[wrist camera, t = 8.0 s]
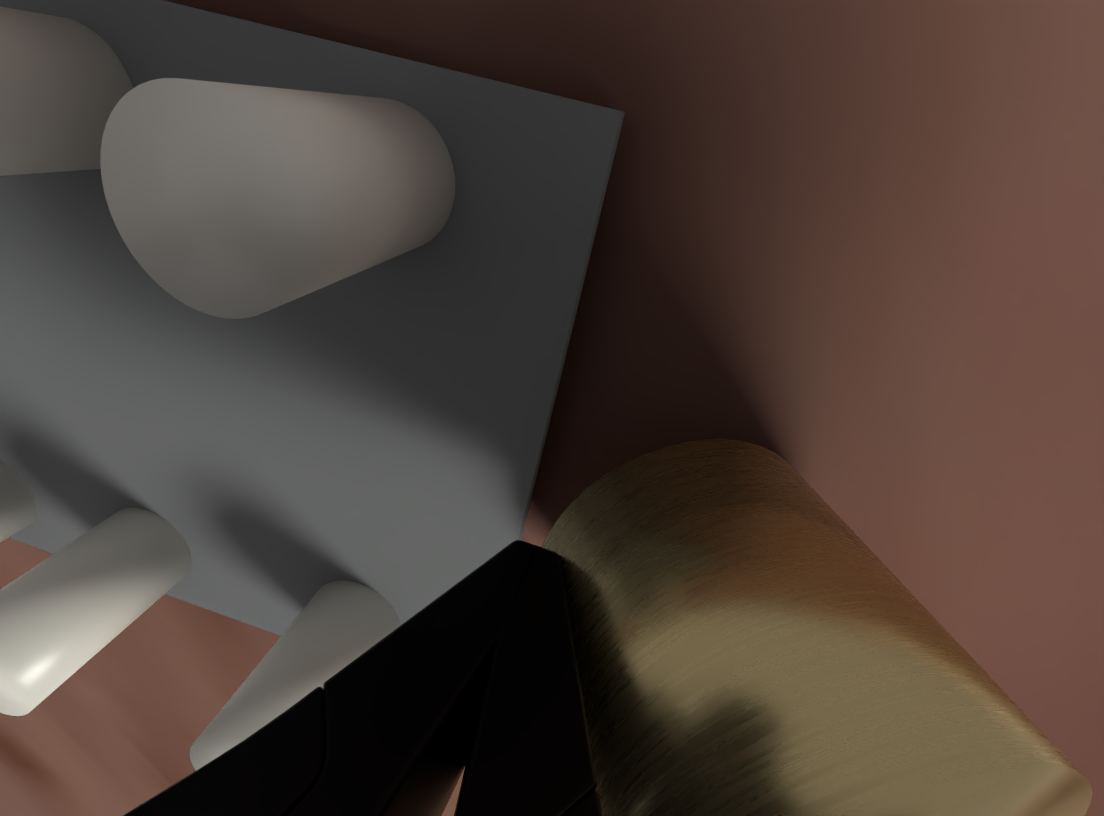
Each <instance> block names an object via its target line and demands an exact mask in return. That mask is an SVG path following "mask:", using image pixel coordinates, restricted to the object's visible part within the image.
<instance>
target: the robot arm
mask: <svg viewBox="0 0 1104 816" xmlns="http://www.w3.org/2000/svg"><path fill="white" fill-rule="evenodd" d="M465 765H466V766H465ZM464 767H465V770H464V774H463V779H462V783H461V787H460V792H459V796H458V800H457V805H456V809H455V813H454V816H603V814H602V808H601V802H600V796H599V793H598V791H596V788H597V780H596V773H595V767H594V761H593V755H592V749H591V743H590V737H589V731H588V725H587V719H586V713H585V707H584V701H583V695H582V689H581V683H580V677H579V671H578V665H577V659H576V653H575V647H574V641H573V635H572V628H571V622H570V616H569V610H568V604H567V598H566V592H565V586H564V580H563V574H562V568H561V562H560V557H559V555H558V554H557V553H556V552H554V551H551V550H548V549H545V548H542V547H539V546H536V545H533V544H530V543H527V542H524V541H521V540H515V541H513V542H512V543H510V544H509V545H508V546H506V547H505V548H504V549H502V550H501V551H500V552H498V553H497V554H496V555H494V556H493V557H492V558H490V559H489V560H488V561H486V562H485V563H484V564H482V565H481V566H480V567H478V568H477V569H475V570H474V571H473V572H471V573H470V574H469V575H467V576H466V577H465V578H463V579H462V580H461V581H459V582H458V583H457V584H455V585H454V586H453V587H451V588H450V589H449V590H447V591H446V592H445V593H443V594H442V595H441V596H439V597H438V598H437V599H435V600H434V601H433V602H431V603H430V604H429V605H427V606H426V607H425V608H423V609H422V610H421V611H419V612H418V613H417V614H415V615H414V616H413V617H411V618H410V619H409V620H407V621H406V622H404V623H403V624H402V625H400V626H399V627H398V628H396V629H395V630H394V631H392V632H391V633H390V634H388V635H387V636H386V637H384V638H383V639H382V640H380V641H379V642H378V643H376V644H375V645H374V646H372V647H371V648H370V649H368V650H367V651H366V652H364V653H363V654H362V655H360V656H359V657H358V658H356V659H355V660H354V661H352V662H351V663H350V664H348V665H347V666H346V667H344V668H343V669H342V670H340V671H339V672H337V673H336V674H335V675H333V676H332V677H331V678H329V679H328V680H327V681H325V683H324V685H323V688H322V687H317V688H315V689H314V690H313V691H311V692H310V693H309V694H308V695H306V696H305V697H304V698H302V699H301V700H300V701H298V702H297V703H296V704H294V705H293V706H292V707H290V708H289V709H287V710H286V711H285V712H283V713H282V714H280V715H279V716H278V717H276V718H275V719H273V720H272V721H270V722H269V723H268V724H266V725H265V726H263V727H262V728H261V729H259V730H258V731H256V732H255V733H253V734H252V735H251V736H249V737H248V738H246V739H245V740H244V741H242V742H240V743H239V744H237V745H236V746H234V747H233V748H231V749H229V750H228V751H226V752H225V753H223V754H222V755H220V756H218V757H217V758H215V759H214V760H212V761H211V762H209V763H207V764H206V765H204V766H203V767H201V768H200V769H198V770H196V771H195V772H193V773H192V774H190V775H189V776H187V777H185V778H184V779H182V780H180V781H179V782H177V783H175V784H174V785H172V786H171V787H169V788H167V789H166V790H164V791H162V792H161V793H159V794H157V795H156V796H154V797H152V798H151V799H149V800H148V801H146V802H144V803H143V804H141V805H139V806H138V807H136V808H134V809H133V810H131V811H129V812H128V813H126V814H125V815H123V816H441V815H442V813H443V811H444V809H445V807H446V805H447V803H448V801H449V799H450V797H451V795H452V792H453V790H454V788H455V786H456V784H457V782H458V780H459V778H460V776H461V774H462V772H463V769H464Z"/></svg>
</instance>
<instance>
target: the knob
mask: <svg viewBox="0 0 1104 816" xmlns="http://www.w3.org/2000/svg"><path fill="white" fill-rule="evenodd" d="M542 548H545V549H548V550H551V551H554V552H556V553H557V554H558V555H559V557H560V562H561V568H562V574H563V580H564V586H565V592H566V598H567V604H568V610H569V616H570V622H571V628H572V635H573V641H574V647H575V653H576V659H577V665H578V671H579V677H580V683H581V689H582V695H583V701H584V707H585V713H586V719H587V725H588V731H589V737H590V743H591V749H592V755H593V761H594V767H595V773H596V780H597V788H596V791H598V793H599V796H600V802H601V808H602V814H603V816H1084V815H1085V814H1086V812H1087V810H1088V807H1089V805H1090V803H1091V799H1092V788H1091V785H1090V782H1089V781H1088V780H1087V779H1086V778H1085V777H1084V776H1083V775H1082V774H1081V773H1080V771H1079V770H1078V769H1077V768H1076V767H1075V766H1074V765H1073V764H1072V763H1071V762H1070V761H1069V760H1068V759H1067V758H1066V757H1065V756H1064V754H1063V753H1062V752H1061V751H1060V750H1059V749H1058V748H1057V747H1056V746H1055V745H1054V744H1053V743H1052V742H1051V741H1050V740H1049V739H1048V738H1047V736H1046V735H1045V734H1044V733H1043V732H1042V731H1041V730H1040V729H1039V728H1038V727H1037V726H1036V725H1035V724H1034V723H1033V722H1032V721H1031V719H1030V718H1029V717H1028V716H1027V715H1026V714H1025V713H1024V712H1023V711H1022V710H1021V709H1020V708H1019V707H1018V706H1017V705H1016V704H1015V702H1014V701H1013V700H1012V699H1011V698H1010V697H1009V696H1008V695H1007V694H1006V693H1005V692H1004V691H1003V690H1002V689H1001V688H1000V687H999V686H998V684H997V683H996V682H995V681H994V680H993V679H992V678H991V677H990V676H989V675H988V674H987V673H986V672H985V671H984V670H983V669H982V667H981V666H980V665H979V664H978V663H977V662H976V661H975V660H974V659H973V658H972V657H971V656H970V655H969V654H968V653H967V652H966V651H965V649H964V648H963V647H962V646H961V645H960V644H959V643H958V642H957V641H956V640H955V639H954V638H953V637H952V636H951V635H950V634H949V632H948V631H947V630H946V629H945V628H944V627H943V626H942V625H941V624H940V623H939V622H938V621H937V620H936V619H935V618H934V617H933V616H932V614H931V613H930V612H929V611H928V610H927V609H926V608H925V607H924V606H923V605H922V604H921V603H920V602H919V601H918V600H917V599H916V597H915V596H914V595H913V594H912V593H911V592H910V591H909V590H908V589H907V588H906V587H905V586H904V585H903V584H902V583H901V582H900V581H899V579H898V578H897V577H896V576H895V575H894V574H893V573H892V572H891V571H890V570H889V569H888V568H887V567H886V566H885V565H884V564H883V562H882V561H881V560H880V559H879V558H878V557H877V556H876V555H875V554H874V553H873V552H872V551H871V550H870V549H869V548H868V547H867V546H866V544H865V543H864V542H863V541H862V540H861V539H860V538H859V537H858V536H857V535H856V534H855V533H854V532H853V531H852V530H851V529H850V527H849V526H848V525H847V524H846V523H845V522H844V521H843V520H842V519H841V518H840V517H839V516H838V515H837V514H836V513H835V512H834V511H833V509H832V508H831V507H830V506H829V505H828V504H827V503H826V502H825V501H824V500H823V499H822V498H821V497H820V496H819V495H818V494H817V492H816V491H815V490H814V489H813V488H812V487H811V486H810V485H809V484H808V483H807V482H806V481H805V480H804V479H803V478H802V477H801V476H800V474H799V473H798V472H797V471H796V470H795V469H794V468H793V467H792V466H791V465H790V464H789V463H788V462H787V461H786V460H785V459H783V458H782V457H780V456H779V455H777V454H776V453H774V452H773V451H771V450H768V449H766V448H764V447H762V446H759V445H756V444H752V443H748V442H744V441H738V440H729V439H703V440H696V441H688V442H683V443H678V444H674V445H670V446H666V447H663V448H660V449H657V450H654V451H651V452H648V453H646V454H643V455H641V456H639V457H637V458H635V459H632V460H630V461H628V462H626V463H624V464H622V465H621V466H619V467H617V468H616V469H614V470H612V471H611V472H609V473H607V474H606V475H604V476H603V477H601V478H600V479H599V480H597V481H596V482H595V483H593V484H592V485H591V486H589V487H588V488H587V489H586V490H585V491H584V492H582V493H581V494H580V495H579V496H578V497H577V498H576V499H575V500H574V501H573V502H572V503H571V504H570V505H569V506H568V507H567V509H566V510H565V511H564V512H563V513H562V514H561V515H560V517H559V518H558V520H557V521H556V523H555V524H554V525H553V527H552V528H551V530H550V531H549V533H548V535H547V537H546V539H545V541H544V543H543V545H542Z"/></svg>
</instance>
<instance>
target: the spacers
mask: <svg viewBox="0 0 1104 816" xmlns="http://www.w3.org/2000/svg"><path fill="white" fill-rule="evenodd" d="M93 169H101V177H102V184H103V189H104V194H105V198H106V201H107V204H108V207H109V211H110V213H111V216H112V218H113V221H114V223H115V225H116V228H117V229H118V231H119V233H120V235H121V237H122V239H123V241H124V243H125V244H126V246H127V247H128V249H129V251H130V252H131V254H132V255H133V256H134V258H135V259H136V260H137V262H138V263H139V264H140V266H141V267H142V268H143V269H144V270H145V271H146V273H147V274H148V275H149V276H150V277H151V278H152V279H153V280H154V281H155V282H156V283H157V284H158V285H159V286H160V287H161V288H163V289H164V290H165V291H167V292H168V293H169V294H170V295H172V296H173V297H174V298H176V299H177V300H179V301H181V302H182V303H184V304H185V305H187V306H189V307H191V308H193V309H195V310H197V311H200V312H203V313H205V314H208V315H212V316H216V317H220V318H229V319H242V318H249V317H253V316H257V315H260V314H262V313H264V312H267V311H269V310H272V309H274V308H276V307H279V306H281V305H283V304H286V303H288V302H290V301H293V300H295V299H297V298H300V297H302V296H305V295H307V294H309V293H312V292H314V291H316V290H319V289H321V288H323V287H326V286H328V285H330V284H333V283H335V282H337V281H340V280H342V279H344V278H347V277H349V276H352V275H354V274H356V273H359V272H361V271H363V270H366V269H368V268H370V267H373V266H375V265H377V264H380V263H382V262H384V261H387V260H389V259H391V258H394V257H396V256H399V255H401V254H403V253H406V252H408V251H410V250H413V249H415V248H417V247H420V246H422V245H424V244H426V243H427V242H429V241H430V240H432V239H433V238H434V237H435V236H436V235H437V234H438V233H439V232H440V231H441V230H442V228H443V227H444V225H445V224H446V222H447V220H448V218H449V216H450V213H451V210H452V207H453V203H454V198H455V173H454V168H453V163H452V160H451V156H450V154H449V151H448V149H447V146H446V144H445V142H444V141H443V139H442V137H441V135H440V134H439V132H438V131H437V130H436V128H435V127H434V126H433V125H432V124H431V122H430V121H429V120H428V119H427V118H426V117H424V116H423V115H422V114H421V113H420V112H418V111H417V110H415V109H414V108H412V107H411V106H409V105H407V104H405V103H402V102H399V101H396V100H392V99H386V98H377V97H367V96H356V95H346V94H336V93H325V92H315V91H305V90H294V89H284V88H274V87H263V86H253V85H243V84H232V83H222V82H212V81H201V80H191V79H181V78H161V79H156V80H150V81H148V82H145V83H143V84H140V85H138V86H136V87H135V88H133V85H132V82H131V80H130V78H129V76H128V74H127V72H126V70H125V68H124V66H123V65H122V63H121V61H120V60H119V58H118V57H117V55H116V54H115V53H114V51H113V50H112V49H111V48H110V46H109V45H108V44H107V43H106V42H105V41H104V40H103V39H102V38H101V37H100V36H99V35H98V34H96V33H95V32H94V31H93V30H91V29H90V28H88V27H87V26H85V25H83V24H81V23H79V22H77V21H75V20H72V19H69V18H64V17H58V16H53V15H47V14H41V13H35V12H30V11H24V10H18V9H13V8H7V7H1V6H0V176H5V175H20V174H34V173H49V172H64V171H79V170H93ZM36 517H37V505H36V502H35V499H34V497H33V495H32V493H31V491H30V489H29V488H28V486H27V485H26V484H25V482H24V481H23V480H22V479H21V478H20V477H19V476H18V475H17V474H16V473H15V472H14V471H13V470H12V469H11V468H9V467H8V466H7V465H5V464H4V463H3V462H1V461H0V542H2V541H3V540H5V539H7V538H9V537H10V536H12V535H14V534H15V533H17V532H19V531H20V530H22V529H24V528H25V527H27V526H29V525H30V524H32V523H33V522H34V521H35V519H36ZM191 566H192V557H191V553H190V550H189V548H188V545H187V543H186V542H185V540H184V539H183V537H182V536H181V535H180V533H179V532H178V531H177V530H176V529H175V528H174V527H173V526H172V525H171V524H170V523H169V522H167V521H166V520H165V519H163V518H162V517H160V516H158V515H157V514H155V513H153V512H151V511H148V510H145V509H142V508H136V507H129V508H124V509H121V510H120V511H118V512H116V513H115V514H113V515H112V516H110V517H109V518H107V519H106V520H104V521H103V522H101V523H100V524H98V525H97V526H95V527H94V528H92V529H91V530H89V531H88V532H86V533H85V534H83V535H82V536H80V537H79V538H77V539H76V540H74V541H73V542H71V543H70V544H68V545H67V546H65V547H64V548H62V549H61V550H59V551H58V552H56V553H54V554H53V555H51V556H50V557H48V558H47V559H45V560H44V561H42V562H41V563H39V564H38V565H36V566H35V567H33V568H32V569H30V570H29V571H27V572H26V573H24V574H23V575H21V576H20V577H18V578H17V579H15V580H14V581H12V582H11V583H9V584H8V585H6V586H5V587H3V588H2V589H0V713H3V714H7V715H12V716H22V715H26V714H28V713H29V712H30V711H31V710H33V709H34V708H35V707H36V706H37V705H38V704H39V703H41V702H42V701H43V700H44V699H45V698H46V697H47V696H49V695H50V694H51V693H52V692H53V691H54V690H55V689H57V688H58V687H59V686H60V685H61V684H62V683H63V682H65V681H66V680H67V679H68V678H69V677H70V676H71V675H73V674H74V673H75V672H76V671H77V670H78V669H80V668H81V667H82V666H83V665H84V664H85V663H86V662H88V661H89V660H90V659H91V658H92V657H93V656H94V655H96V654H97V653H98V652H99V651H100V650H101V649H102V648H104V647H105V646H106V645H107V644H108V643H109V642H110V641H112V640H113V639H114V638H115V637H116V636H117V635H118V634H120V633H121V632H122V631H123V630H124V629H125V628H126V627H128V626H129V625H130V624H131V623H132V622H133V621H134V620H136V619H137V618H138V617H139V616H140V615H141V614H142V613H144V612H145V611H146V610H147V609H148V608H149V607H150V606H152V605H153V604H154V603H155V602H156V601H157V600H158V599H160V598H161V597H162V596H163V595H164V594H165V593H166V592H168V591H169V590H170V589H171V588H172V587H173V586H174V585H176V584H177V583H178V582H179V581H180V580H181V579H182V578H184V577H185V576H186V575H187V574H188V573H189V571H190V569H191ZM399 626H400V621H399V618H398V616H397V613H396V612H395V610H394V608H393V607H392V606H391V604H390V603H389V602H388V601H387V600H386V599H385V598H384V597H383V596H381V595H380V594H379V593H377V592H376V591H374V590H373V589H371V588H369V587H367V586H365V585H362V584H360V583H357V582H353V581H346V580H337V581H332V582H329V583H327V584H325V585H323V586H322V587H321V588H320V589H319V590H318V592H317V593H316V594H315V595H314V597H313V598H312V599H311V600H310V601H309V603H308V604H307V605H306V606H305V608H304V609H303V610H302V611H301V612H300V614H299V615H298V616H297V617H296V619H295V620H294V621H293V622H292V623H291V625H290V626H289V627H288V628H287V629H286V631H285V632H284V633H283V634H282V636H281V637H280V638H279V639H278V640H277V642H276V643H275V644H274V645H273V647H272V648H271V649H270V650H269V651H268V653H267V654H266V655H265V656H264V658H263V659H262V660H261V661H260V662H259V664H258V665H257V666H256V667H255V669H254V670H253V671H252V672H251V673H250V675H249V676H248V677H247V678H246V680H245V681H244V682H243V683H242V684H241V686H240V687H239V688H238V689H237V690H236V692H235V693H234V694H233V695H232V697H231V698H230V699H229V700H228V701H227V703H226V704H225V705H224V706H223V708H222V709H221V710H220V711H219V712H218V714H217V715H216V716H215V717H214V719H213V720H212V721H211V722H210V723H209V725H208V726H207V727H206V728H205V730H204V731H203V732H202V733H201V734H200V736H199V737H198V738H197V739H196V741H195V742H194V743H193V744H192V746H191V748H190V759H191V762H192V765H193V767H194V769H195V771H196V770H198V769H200V768H201V767H203V766H204V765H206V764H207V763H209V762H211V761H212V760H214V759H215V758H217V757H218V756H220V755H222V754H223V753H225V752H226V751H228V750H229V749H231V748H233V747H234V746H236V745H237V744H239V743H240V742H242V741H244V740H245V739H246V738H248V737H249V736H251V735H252V734H253V733H255V732H256V731H258V730H259V729H261V728H262V727H263V726H265V725H266V724H268V723H269V722H270V721H272V720H273V719H275V718H276V717H278V716H279V715H280V714H282V713H283V712H285V711H286V710H287V709H289V708H290V707H292V706H293V705H294V704H296V703H297V702H298V701H300V700H301V699H302V698H304V697H305V696H306V695H308V694H309V693H310V692H311V691H313V690H314V689H315V688H317V687H322V688H323V685H324V683H325V681H327V680H328V679H329V678H331V677H332V676H333V675H335V674H336V673H337V672H339V671H340V670H342V669H343V668H344V667H346V666H347V665H348V664H350V663H351V662H352V661H354V660H355V659H356V658H358V657H359V656H360V655H362V654H363V653H364V652H366V651H367V650H368V649H370V648H371V647H372V646H374V645H375V644H376V643H378V642H379V641H380V640H382V639H383V638H384V637H386V636H387V635H388V634H390V633H391V632H392V631H394V630H395V629H396V628H398V627H399Z"/></svg>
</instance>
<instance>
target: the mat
mask: <svg viewBox="0 0 1104 816" xmlns="http://www.w3.org/2000/svg"><path fill="white" fill-rule="evenodd" d="M0 6H1V7H7V8H13V9H18V10H24V11H30V12H35V13H41V14H47V15H53V16H58V17H64V18H69V19H72V20H75V21H77V22H79V23H81V24H83V25H85V26H87V27H88V28H90V29H91V30H93V31H94V32H95V33H96V34H98V35H99V36H100V37H101V38H102V39H103V40H104V41H105V42H106V43H107V44H108V45H109V46H110V48H111V49H112V50H113V51H114V53H115V54H116V55H117V57H118V58H119V60H120V61H121V63H122V65H123V66H124V68H125V70H126V72H127V74H128V76H129V78H130V80H131V82H132V85H133V88H135V87H136V86H138V85H140V84H143V83H145V82H148V81H150V80H156V79H161V78H181V79H191V80H201V81H212V82H222V83H232V84H243V85H253V86H263V87H274V88H284V89H294V90H305V91H315V92H325V93H336V94H346V95H356V96H367V97H377V98H386V99H392V100H396V101H399V102H402V103H405V104H407V105H409V106H411V107H412V108H414V109H415V110H417V111H418V112H420V113H421V114H422V115H423V116H424V117H426V118H427V119H428V120H429V121H430V122H431V124H432V125H433V126H434V127H435V128H436V130H437V131H438V132H439V134H440V135H441V137H442V139H443V141H444V142H445V144H446V146H447V149H448V151H449V154H450V156H451V160H452V163H453V168H454V173H455V198H454V203H453V207H452V210H451V213H450V216H449V218H448V220H447V222H446V224H445V225H444V227H443V228H442V230H441V231H440V232H439V233H438V234H437V235H436V236H435V237H434V238H433V239H432V240H430V241H429V242H427V243H426V244H424V245H422V246H420V247H417V248H415V249H413V250H410V251H408V252H406V253H403V254H401V255H399V256H396V257H394V258H391V259H389V260H387V261H384V262H382V263H380V264H377V265H375V266H373V267H370V268H368V269H366V270H363V271H361V272H359V273H356V274H354V275H352V276H349V277H347V278H344V279H342V280H340V281H337V282H335V283H333V284H330V285H328V286H326V287H323V288H321V289H319V290H316V291H314V292H312V293H309V294H307V295H305V296H302V297H300V298H297V299H295V300H293V301H290V302H288V303H286V304H283V305H281V306H279V307H276V308H274V309H272V310H269V311H267V312H264V313H262V314H260V315H257V316H253V317H249V318H242V319H229V318H220V317H216V316H212V315H208V314H205V313H203V312H200V311H197V310H195V309H193V308H191V307H189V306H187V305H185V304H184V303H182V302H181V301H179V300H177V299H176V298H174V297H173V296H172V295H170V294H169V293H168V292H167V291H165V290H164V289H163V288H161V287H160V286H159V285H158V284H157V283H156V282H155V281H154V280H153V279H152V278H151V277H150V276H149V275H148V274H147V273H146V271H145V270H144V269H143V268H142V267H141V266H140V264H139V263H138V262H137V260H136V259H135V258H134V256H133V255H132V254H131V252H130V251H129V249H128V247H127V246H126V244H125V243H124V241H123V239H122V237H121V235H120V233H119V231H118V229H117V228H116V225H115V223H114V221H113V218H112V216H111V213H110V211H109V207H108V204H107V201H106V198H105V194H104V189H103V184H102V177H101V169H93V170H79V171H64V172H49V173H34V174H20V175H5V176H0V461H1V462H3V463H4V464H5V465H7V466H8V467H9V468H11V469H12V470H13V471H14V472H15V473H16V474H17V475H18V476H19V477H20V478H21V479H22V480H23V481H24V482H25V484H26V485H27V486H28V488H29V489H30V491H31V493H32V495H33V497H34V499H35V502H36V505H37V517H36V519H35V521H34V522H33V523H32V524H30V525H29V526H27V527H25V528H24V529H22V530H20V531H19V532H17V533H15V534H14V535H12V536H10V537H9V538H11V539H14V540H16V541H19V542H22V543H25V544H27V545H30V546H33V547H36V548H39V549H41V550H44V551H47V552H50V553H52V554H54V553H56V552H58V551H59V550H61V549H62V548H64V547H65V546H67V545H68V544H70V543H71V542H73V541H74V540H76V539H77V538H79V537H80V536H82V535H83V534H85V533H86V532H88V531H89V530H91V529H92V528H94V527H95V526H97V525H98V524H100V523H101V522H103V521H104V520H106V519H107V518H109V517H110V516H112V515H113V514H115V513H116V512H118V511H120V510H121V509H124V508H129V507H136V508H142V509H145V510H148V511H151V512H153V513H155V514H157V515H158V516H160V517H162V518H163V519H165V520H166V521H167V522H169V523H170V524H171V525H172V526H173V527H174V528H175V529H176V530H177V531H178V532H179V533H180V535H181V536H182V537H183V539H184V540H185V542H186V543H187V545H188V548H189V550H190V553H191V557H192V566H191V569H190V571H189V573H188V574H187V575H186V576H185V577H184V578H182V579H181V580H180V581H179V582H178V583H177V584H176V585H174V586H173V587H172V588H171V589H170V590H169V591H168V592H166V593H165V594H166V595H169V596H172V597H175V598H177V599H180V600H183V601H186V602H188V603H191V604H194V605H197V606H200V607H202V608H205V609H208V610H211V611H213V612H216V613H219V614H222V615H224V616H227V617H230V618H233V619H236V620H238V621H241V622H244V623H247V624H249V625H252V626H255V627H258V628H261V629H263V630H266V631H269V632H272V633H274V634H277V635H280V636H282V634H283V633H284V632H285V631H286V629H287V628H288V627H289V626H290V625H291V623H292V622H293V621H294V620H295V619H296V617H297V616H298V615H299V614H300V612H301V611H302V610H303V609H304V608H305V606H306V605H307V604H308V603H309V601H310V600H311V599H312V598H313V597H314V595H315V594H316V593H317V592H318V590H319V589H320V588H321V587H322V586H323V585H325V584H327V583H329V582H332V581H337V580H346V581H353V582H357V583H360V584H362V585H365V586H367V587H369V588H371V589H373V590H374V591H376V592H377V593H379V594H380V595H381V596H383V597H384V598H385V599H386V600H387V601H388V602H389V603H390V604H391V606H392V607H393V608H394V610H395V612H396V613H397V616H398V618H399V621H400V625H402V624H403V623H404V622H406V621H407V620H409V619H410V618H411V617H413V616H414V615H415V614H417V613H418V612H419V611H421V610H422V609H423V608H425V607H426V606H427V605H429V604H430V603H431V602H433V601H434V600H435V599H437V598H438V597H439V596H441V595H442V594H443V593H445V592H446V591H447V590H449V589H450V588H451V587H453V586H454V585H455V584H457V583H458V582H459V581H461V580H462V579H463V578H465V577H466V576H467V575H469V574H470V573H471V572H473V571H474V570H475V569H477V568H478V567H480V566H481V565H482V564H484V563H485V562H486V561H488V560H489V559H490V558H492V557H493V556H494V555H496V554H497V553H498V552H500V551H501V550H502V549H504V548H505V547H506V546H508V545H509V544H510V543H512V542H513V541H515V540H521V539H522V535H523V530H524V526H525V522H526V518H527V514H528V510H529V506H530V502H531V497H532V493H533V489H534V485H535V481H536V477H537V473H538V469H539V465H540V460H541V456H542V452H543V448H544V444H545V440H546V436H547V432H548V428H549V423H550V419H551V415H552V411H553V407H554V403H555V399H556V395H557V390H558V386H559V382H560V378H561V374H562V370H563V366H564V362H565V358H566V353H567V349H568V345H569V341H570V337H571V333H572V329H573V325H574V320H575V316H576V312H577V308H578V304H579V300H580V296H581V292H582V288H583V283H584V279H585V275H586V271H587V267H588V263H589V259H590V255H591V251H592V246H593V242H594V238H595V234H596V230H597V226H598V222H599V218H600V213H601V209H602V205H603V201H604V197H605V193H606V189H607V185H608V181H609V176H610V172H611V168H612V164H613V160H614V156H615V152H616V148H617V144H618V139H619V135H620V131H621V127H622V123H623V119H624V115H625V112H623V111H619V110H615V109H611V108H607V107H603V106H599V105H594V104H590V103H586V102H582V101H578V100H574V99H570V98H566V97H561V96H557V95H553V94H549V93H545V92H541V91H537V90H532V89H528V88H524V87H520V86H516V85H512V84H508V83H504V82H499V81H495V80H491V79H487V78H483V77H479V76H475V75H470V74H466V73H462V72H458V71H454V70H450V69H446V68H442V67H437V66H433V65H429V64H425V63H421V62H417V61H413V60H408V59H404V58H400V57H396V56H392V55H388V54H384V53H380V52H375V51H371V50H367V49H363V48H359V47H355V46H351V45H346V44H342V43H338V42H334V41H330V40H326V39H322V38H318V37H313V36H309V35H305V34H301V33H297V32H293V31H289V30H284V29H280V28H276V27H272V26H268V25H264V24H260V23H256V22H251V21H247V20H243V19H239V18H235V17H231V16H227V15H222V14H218V13H214V12H210V11H206V10H202V9H198V8H194V7H189V6H185V5H181V4H177V3H173V2H169V1H165V0H0Z"/></svg>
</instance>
